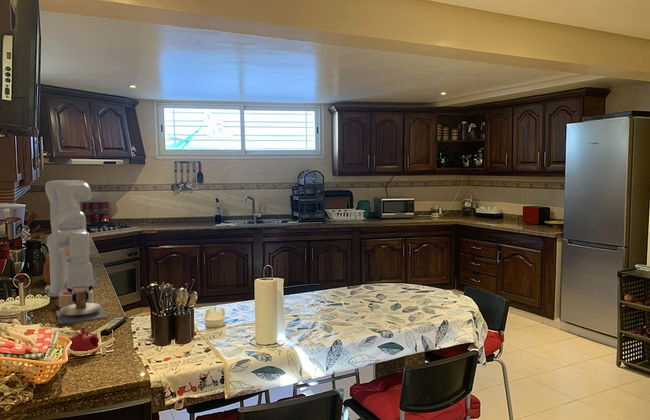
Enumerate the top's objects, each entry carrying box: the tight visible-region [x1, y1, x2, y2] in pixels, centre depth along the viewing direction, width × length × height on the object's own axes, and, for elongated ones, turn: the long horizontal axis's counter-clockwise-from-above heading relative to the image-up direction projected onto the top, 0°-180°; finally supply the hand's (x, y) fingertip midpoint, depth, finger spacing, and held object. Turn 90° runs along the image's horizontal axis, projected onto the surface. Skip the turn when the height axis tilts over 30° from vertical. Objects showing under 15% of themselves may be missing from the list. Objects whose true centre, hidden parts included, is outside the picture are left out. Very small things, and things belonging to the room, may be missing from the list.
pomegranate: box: [69, 326, 100, 351], centre depth 167 cm, size 10×10×9 cm
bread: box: [42, 251, 70, 285], centre depth 282 cm, size 18×22×17 cm
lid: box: [59, 290, 102, 315], centre depth 212 cm, size 16×16×8 cm
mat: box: [55, 307, 108, 325], centre depth 213 cm, size 20×18×1 cm
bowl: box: [58, 288, 94, 309], centre depth 229 cm, size 14×14×6 cm
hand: (80, 301), depth 212 cm, fingers closed on lid, 3 cm apart
